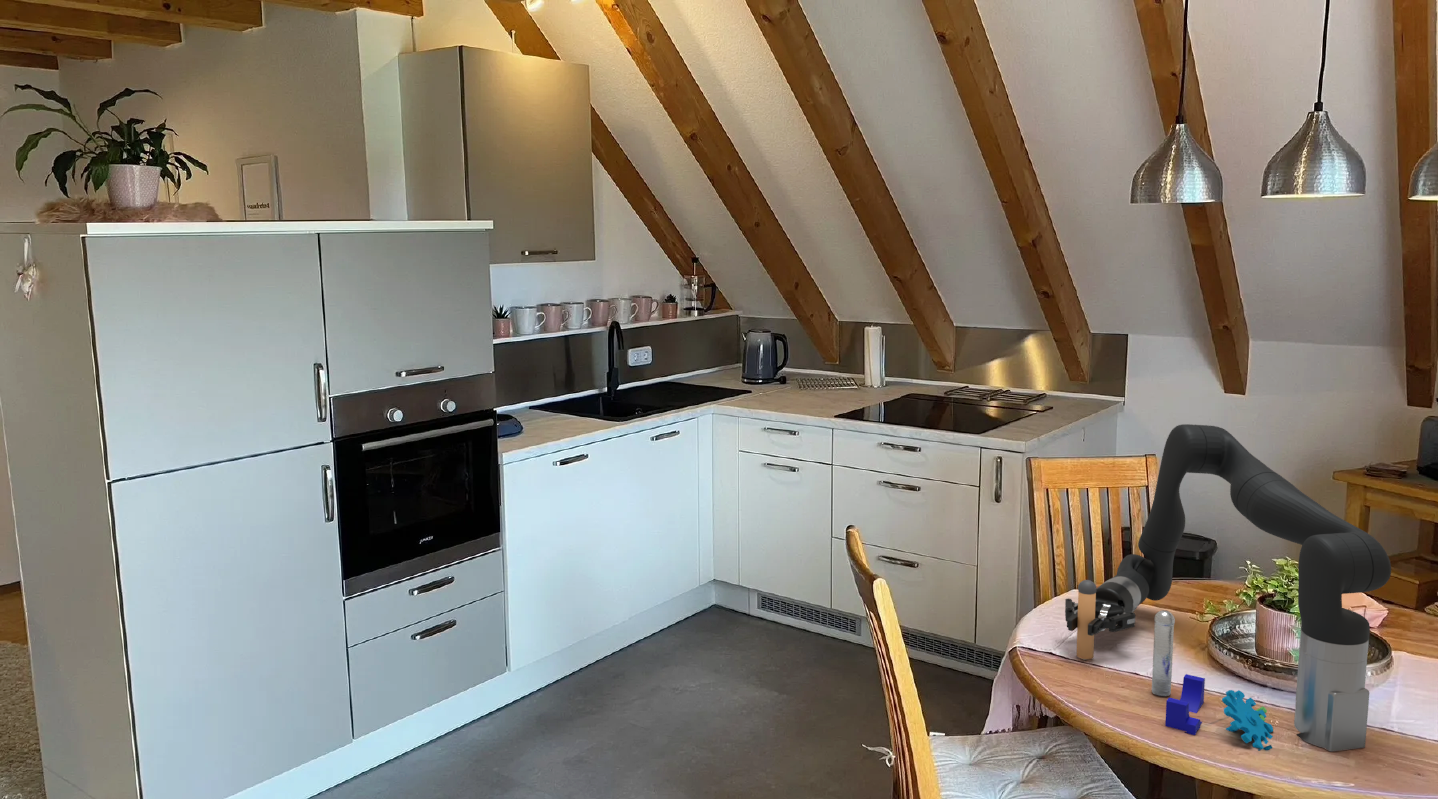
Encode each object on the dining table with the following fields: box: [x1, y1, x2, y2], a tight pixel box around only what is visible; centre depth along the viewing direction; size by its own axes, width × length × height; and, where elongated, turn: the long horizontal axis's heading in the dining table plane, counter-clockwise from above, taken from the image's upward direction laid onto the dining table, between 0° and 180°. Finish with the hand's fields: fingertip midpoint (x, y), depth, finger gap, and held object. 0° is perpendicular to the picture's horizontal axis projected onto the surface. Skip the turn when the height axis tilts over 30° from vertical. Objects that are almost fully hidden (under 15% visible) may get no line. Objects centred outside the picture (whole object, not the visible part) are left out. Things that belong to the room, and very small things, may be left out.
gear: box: [1221, 689, 1274, 752], centre depth 168 cm, size 11×6×10 cm
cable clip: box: [1164, 673, 1206, 736], centre depth 174 cm, size 12×4×6 cm, turn 143°
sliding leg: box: [1076, 579, 1098, 661], centre depth 195 cm, size 3×3×15 cm
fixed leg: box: [1151, 609, 1176, 697], centre depth 180 cm, size 3×3×15 cm
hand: (1080, 627), depth 193 cm, fingers closed on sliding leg, 3 cm apart
